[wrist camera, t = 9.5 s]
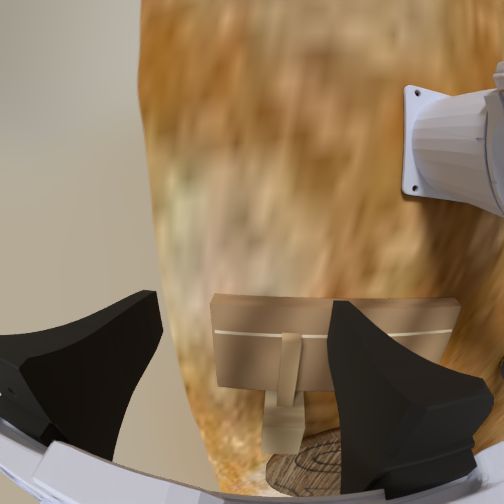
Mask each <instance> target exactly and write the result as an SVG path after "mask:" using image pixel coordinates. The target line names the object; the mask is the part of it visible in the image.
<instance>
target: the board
mask: <svg viewBox="0 0 504 504" xmlns="http://www.w3.org/2000/svg"><path fill="white" fill-rule="evenodd" d="M333 300H345V301H349V302H351V303H352V304H353V305H354V306H355V307H356V308H357V309H359V310H360V311H361V312H362V313H363V314H364V315H365V316H366V317H367V318H368V319H369V320H371V321H372V322H373V323H374V324H375V325H376V326H377V327H379V328H380V329H381V330H382V331H384V332H385V333H386V334H387V335H389V336H390V337H391V338H393V339H394V340H395V341H397V342H398V343H400V344H401V345H403V346H404V347H406V348H408V349H409V350H411V351H412V352H414V353H416V354H418V355H419V356H421V357H423V358H425V359H427V360H429V361H431V362H433V363H436V364H439V362H440V360H441V358H442V356H443V353H444V351H445V349H446V346H447V344H448V342H449V339H450V337H451V334H452V332H453V329H454V327H455V324H456V321H457V318H458V316H459V313H460V310H461V307H462V306H461V304H460V303H459V302H458V301H457V300H456V299H455V298H454V297H444V298H405V299H335V298H293V297H266V296H245V295H227V294H214V296H213V298H212V301H211V303H210V310H211V322H212V333H213V344H214V354H215V364H216V373H217V383H218V386H219V387H229V388H240V389H253V390H270V391H277V390H278V379H279V368H280V356H281V343H282V333H301V341H302V344H301V352H300V360H299V367H298V374H297V381H296V387H295V391H334V386H333V381H332V377H331V372H330V368H329V363H328V354H327V336H328V330H329V325H330V319H331V313H332V306H333Z"/></svg>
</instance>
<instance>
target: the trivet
mask: <svg viewBox="0 0 504 504" xmlns="http://www.w3.org/2000/svg"><path fill="white" fill-rule="evenodd" d="M266 481H267V483H268V484H269V485H270V487H272V488H273V489H275V490H277V491H279V492H280V493H283V494H287V495H290V496H293V497H319V496H333V495H340V486H341V436H340V427H338V428H333V429H330V430H327V431H324V432H321V433H317V434H314V435H311V436H307V437H305V438H303V439H302V441H301V445H300V449H299V452H298V454H274V455H273V456H272V457H271V459H270V460H269V461H268V463H267V466H266Z"/></svg>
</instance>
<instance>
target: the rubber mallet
mask: <svg viewBox="0 0 504 504" xmlns="http://www.w3.org/2000/svg"><path fill="white" fill-rule="evenodd" d="M500 367H501V373H502V377H503V378H504V358H503V360H502V361H501V364H500Z"/></svg>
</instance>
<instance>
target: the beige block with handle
mask: <svg viewBox="0 0 504 504" xmlns="http://www.w3.org/2000/svg"><path fill="white" fill-rule="evenodd" d="M301 344H302V341H301V333H282V343H281V356H280V368H279V379H278V390H277V391H270V390H266V394H265V405H264V416H263V426H262V444H261V453H266V454H298V452H299V449H300V445H301V441H302V438H303V434H304V430H305V413H304V391H295V387H296V381H297V374H298V367H299V360H300V352H301Z"/></svg>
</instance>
